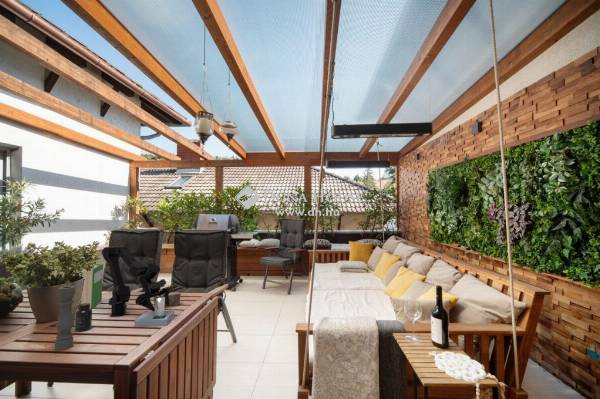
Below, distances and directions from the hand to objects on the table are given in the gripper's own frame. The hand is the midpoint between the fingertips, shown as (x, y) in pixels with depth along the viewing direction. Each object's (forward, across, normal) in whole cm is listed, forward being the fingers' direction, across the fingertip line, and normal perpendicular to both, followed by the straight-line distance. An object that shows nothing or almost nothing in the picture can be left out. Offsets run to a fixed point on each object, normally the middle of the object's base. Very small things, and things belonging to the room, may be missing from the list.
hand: (161, 308), depth 155 cm
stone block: (-9, +22, +20) cm, 31 cm away
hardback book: (-40, +4, +51) cm, 65 cm away
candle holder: (-4, -38, +15) cm, 41 cm away
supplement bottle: (-14, -22, +25) cm, 36 cm away
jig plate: (+2, +1, +9) cm, 9 cm away
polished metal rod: (+4, 0, +6) cm, 8 cm away
